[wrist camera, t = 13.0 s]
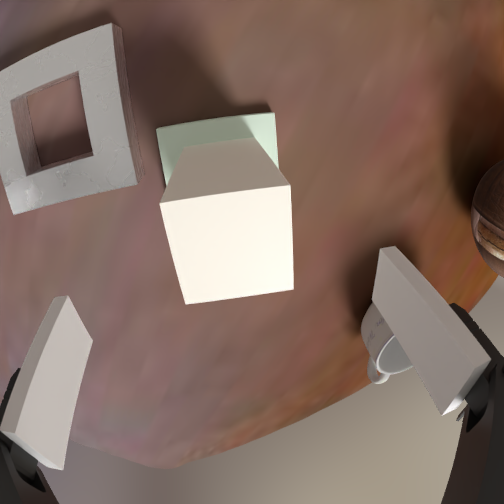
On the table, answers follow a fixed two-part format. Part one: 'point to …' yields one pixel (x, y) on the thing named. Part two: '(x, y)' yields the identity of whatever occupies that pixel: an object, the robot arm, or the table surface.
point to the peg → (229, 222)
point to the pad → (216, 135)
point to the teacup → (382, 347)
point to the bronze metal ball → (490, 217)
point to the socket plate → (97, 116)
